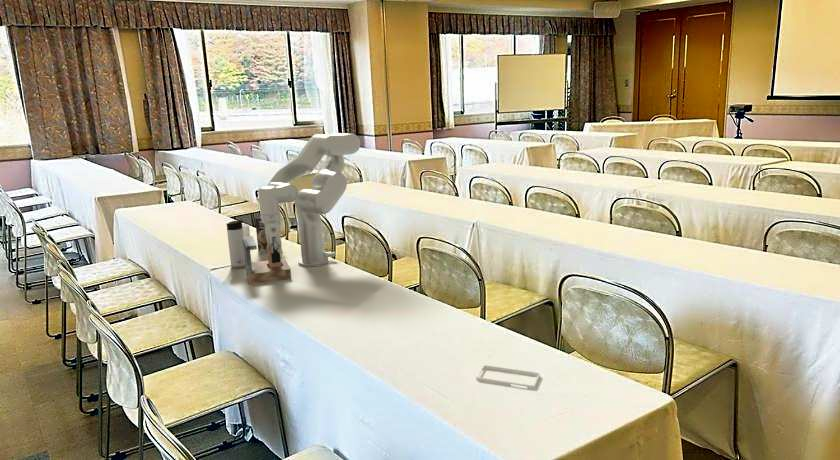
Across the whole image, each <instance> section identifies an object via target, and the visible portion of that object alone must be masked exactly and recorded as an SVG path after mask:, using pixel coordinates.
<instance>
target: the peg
mask: <svg viewBox="0 0 840 460" xmlns="http://www.w3.org/2000/svg"><path fill="white" fill-rule="evenodd" d="M278 247H279V252H280V253H281V251H280V246H279V245H278ZM267 252H268V253H267V261H268V263H269V268H273V267H281V259H282V258H281V255H280V262H278V263H272V256H271V253H272V250H271V248H270V247H269V245H267Z"/></svg>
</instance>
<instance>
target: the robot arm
mask: <svg viewBox="0 0 840 460" xmlns="http://www.w3.org/2000/svg"><path fill="white" fill-rule="evenodd" d="M360 148H361V139H360V138H359V136H358V135H356V134H354V133H347V132H346V133H344V132H343V133H341V132H334V133H331V134H313V135H312V136H311V137H310V138H309V139H308V141H307V142H306V143H305V145H304V146H303V148H302V149H301V151H300V152H298V154H297V156H296V157H295V158H294V159H293V160H292V161H290V162H289V163H287V164H286V165H284V166H283V167H281V168H280V169H279V170H278V171H277V172H276V173H275V174H274V175H273V177H271V179H270V181H269V182H268V184H267V185H266V186H265V185H264V186H261V187H259V188H258V193H257V194H258V205H259V212H260V216H261V222H262V223H265V233H266V239H267V243H268V245H269V247H270V248H271V250H272V253H271V256H272V263H278V262H280V256H281V251H280V252H279V247H278V245H279V246H282V236H280V233H281V227H280V228H279V223H278V222H279V221H280V222H281V220H282V219H281V208H280V204H282V203H283V204H286V203H292V202H294V205H295V209H296V214H297V218H298V227H299V228H298V229H299V230H298V231H299V241H300V242H299V243H300V253H301V258H300V259H299V260H298V265H299V266H302V267H310V268H311V267H318V266H323V265H325V264H328V263H329V257H330V258H332V257H336V251H325V247H324V235H323V233H324V231H323V222H322V220H323V219H322V217H321V215H326V214H328V213H330V212H331V211H332V209H334V208H335V206H336V205H337V204H338V202H339V200H340V199H341V198H342V197H343V195H344V193H345V192H346V189H347V186H348V180H347V177H346V175H344V174H343V172H344V170H345V158H344V156H346V155H347V156H348V155H353V154H356V153H358V151H359V150H360ZM325 156H326V159H325V160H324V163H323V164H322V165H321V167H320V168H319V169H318V171H317V172H316V173H315V174H314V176H313V178H312V179H311V187H312V189H311V188H310V189H309V188H303V189H301V190H299V189H298V187H297V186H296V185H294V184H291V182H292V181H294V180H296V179H299V178H300V177H304V176H306V175H309V174H311V173H312V172H313V171H315V168H316V167H317V165H318V164H319V162H320V161H321V160H322V158H323V157H325Z"/></svg>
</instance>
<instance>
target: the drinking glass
mask: <svg viewBox="0 0 840 460" xmlns="http://www.w3.org/2000/svg"><path fill="white" fill-rule="evenodd" d="M242 228H243V236H244V237H249V236H251V232H250V231H251V230H250V225H249V224H247V223H242Z"/></svg>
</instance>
